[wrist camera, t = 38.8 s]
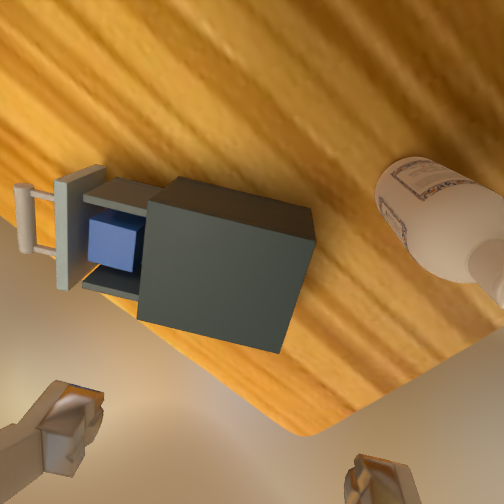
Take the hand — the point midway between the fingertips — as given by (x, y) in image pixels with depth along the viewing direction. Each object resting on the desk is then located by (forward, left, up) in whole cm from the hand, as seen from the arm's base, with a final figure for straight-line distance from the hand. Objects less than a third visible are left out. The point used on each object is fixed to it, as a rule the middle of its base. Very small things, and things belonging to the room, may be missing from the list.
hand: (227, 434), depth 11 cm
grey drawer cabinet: (+3, -7, -29) cm, 30 cm away
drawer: (-5, -15, -28) cm, 33 cm away
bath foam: (+7, +12, -29) cm, 32 cm away
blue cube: (-5, -15, -27) cm, 31 cm away
